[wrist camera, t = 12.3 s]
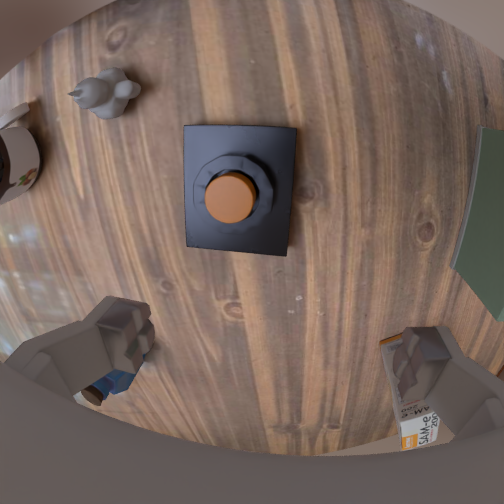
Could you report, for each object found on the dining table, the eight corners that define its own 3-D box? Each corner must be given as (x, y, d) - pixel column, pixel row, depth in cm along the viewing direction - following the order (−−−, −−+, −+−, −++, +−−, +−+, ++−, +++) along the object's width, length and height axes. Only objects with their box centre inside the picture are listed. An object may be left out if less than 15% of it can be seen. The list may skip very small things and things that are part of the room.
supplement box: (416, 366, 34) (438, 440, 23) (385, 377, 36) (400, 453, 24) (412, 327, 32) (443, 408, 20) (378, 339, 33) (398, 425, 21)
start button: (210, 170, 24) (204, 174, 22) (257, 173, 23) (254, 177, 22) (210, 215, 25) (204, 221, 24) (255, 219, 25) (252, 225, 23)
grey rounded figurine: (100, 76, 24) (51, 72, 17) (150, 65, 23) (105, 53, 16) (99, 121, 26) (50, 127, 19) (149, 114, 26) (103, 116, 18)
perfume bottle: (110, 344, 41) (73, 396, 30) (112, 319, 38) (69, 374, 28) (143, 361, 41) (111, 418, 31) (148, 338, 39) (111, 399, 28)
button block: (191, 124, 26) (175, 125, 22) (296, 127, 24) (297, 128, 21) (193, 238, 31) (179, 254, 27) (287, 247, 30) (285, 265, 26)
